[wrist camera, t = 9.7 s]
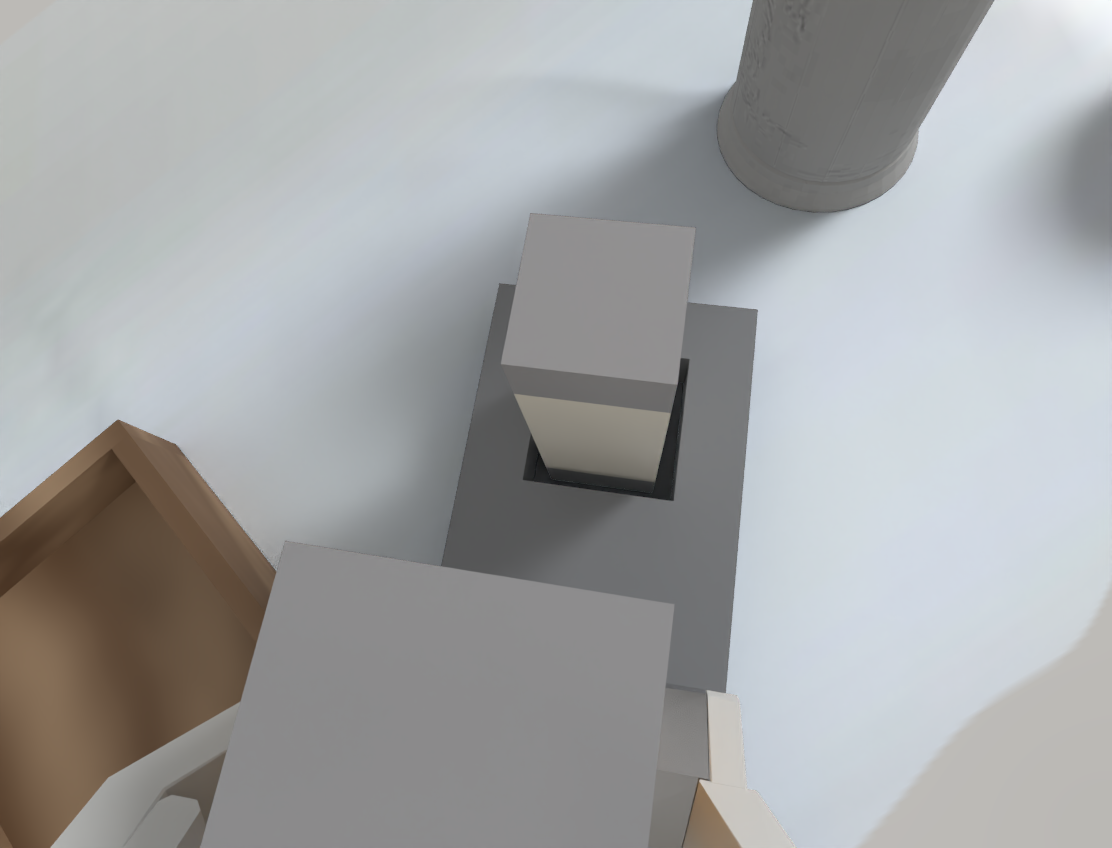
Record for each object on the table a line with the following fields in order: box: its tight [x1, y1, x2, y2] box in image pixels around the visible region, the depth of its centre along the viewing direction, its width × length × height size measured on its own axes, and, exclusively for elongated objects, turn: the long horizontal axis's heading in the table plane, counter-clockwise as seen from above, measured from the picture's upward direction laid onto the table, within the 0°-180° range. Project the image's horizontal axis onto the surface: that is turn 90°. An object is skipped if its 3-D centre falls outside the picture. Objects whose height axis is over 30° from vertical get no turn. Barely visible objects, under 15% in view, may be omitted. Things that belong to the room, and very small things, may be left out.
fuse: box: [501, 213, 696, 493], centre depth 21 cm, size 4×4×12 cm
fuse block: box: [441, 283, 758, 848], centre depth 25 cm, size 19×10×2 cm, turn 171°
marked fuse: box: [200, 541, 675, 848], centre depth 12 cm, size 4×4×12 cm
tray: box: [0, 420, 276, 848], centre depth 24 cm, size 13×13×4 cm
